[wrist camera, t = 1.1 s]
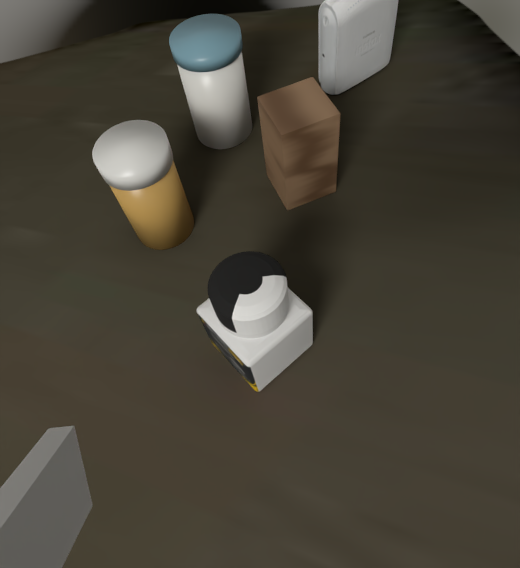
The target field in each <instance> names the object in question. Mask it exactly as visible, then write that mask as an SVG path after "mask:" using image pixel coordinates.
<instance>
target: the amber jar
mask: <svg viewBox="0 0 520 568" xmlns="http://www.w3.org/2000/svg"><path fill="white" fill-rule="evenodd" d="M92 156H93V161H94V163H95V165H96V167H97V168H98V170H99V172H100V174H101V176H102V177H103V179H104V180H105V182H106V183H107V184H108V185H110V187H111V189H112V191H113V193H114V194H115V196H116V198H117V200H118V202H119V203H120V205H121V207H122V209H123V211H124V213H125V214H126V216H127V218H128V220H129V222H130V223H131V225H132V227H133V229H134V231H135V232H136V234H137V236H138V238H139V239H140V241H141V242H142V243H143V244H144V245H145V246H147V247H149V248H152V249H157V250H164V249H170V248H173V247H175V246H178V245H179V244H181V243H182V242H184V241H185V240H186V239H187V238H188V237H189V235H190V234H191V232H192V230H193V227H194V217H193V214H192V212H191V209H190V206H189V203H188V200H187V198H186V195H185V192H184V189H183V186H182V184H181V181H180V178H179V175H178V172H177V170H176V167H175V164H174V161H173V153H172V150H171V147H170V144H169V141H168V138H167V135H166V133H165V131H164V130H163V129H162V128H161V127H160V126H159V125H157V124H156V123H153V122H150V121H146V120H132V121H126V122H123V123H120V124H118V125H115V126H113V127H112V128H110V129H108V130H107V131H106V132H104V133H103V134H102V135H101V136H100V137H99V139H98V140H97V142H96V143H95V145H94V148H93V153H92Z"/></svg>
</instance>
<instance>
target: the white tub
mask: <svg viewBox="0 0 520 568" xmlns="http://www.w3.org/2000/svg"><path fill="white" fill-rule="evenodd" d="M169 44H170V48H171V51H172V55H173V58H174V61H175V62H176V64H177V66H178V69H179V73H180V76H181V80H182V83H183V87H184V91H185V94H186V98H187V101H188V105H189V108H190V112H191V116H192V119H193V123H194V126H195V130H196V133H197V137H198V139H199V141H200V142H201V143H202V144H204V145H205V146H207V147H210V148H213V149H228V148H232V147H235V146H237V145H239V144H241V143H242V142H244V141H245V140H246V139H247V138H248V137H249V135H250V134H251V131H252V119H251V112H250V105H249V98H248V91H247V85H246V78H245V71H244V64H243V57H242V47H243V45H242V37H241V30H240V26H239V24H238V23H237V22H236V21H235V20H234V19H232V18H230V17H228V16H225V15H220V14H204V15H199V16H196V17H192V18H190V19H187V20H185V21H184V22H182V23H180V24H179V25H178V26H177V27H176V28H175V29H174V30H173V31H172V33H171V35H170V38H169Z"/></svg>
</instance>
